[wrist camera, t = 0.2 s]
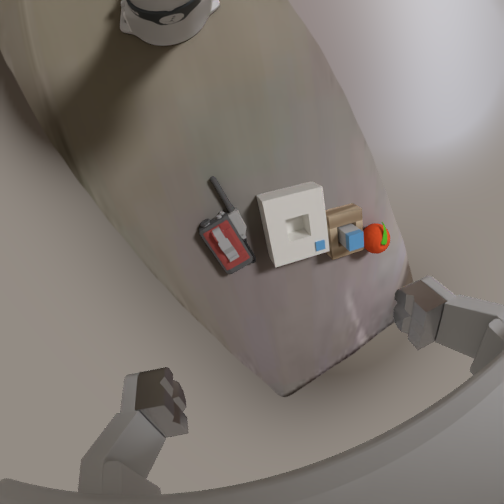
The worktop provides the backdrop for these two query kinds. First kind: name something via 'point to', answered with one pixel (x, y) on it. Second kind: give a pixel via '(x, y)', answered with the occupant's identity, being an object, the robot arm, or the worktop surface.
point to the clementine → (376, 238)
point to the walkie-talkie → (227, 236)
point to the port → (294, 222)
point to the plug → (350, 237)
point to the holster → (340, 218)
